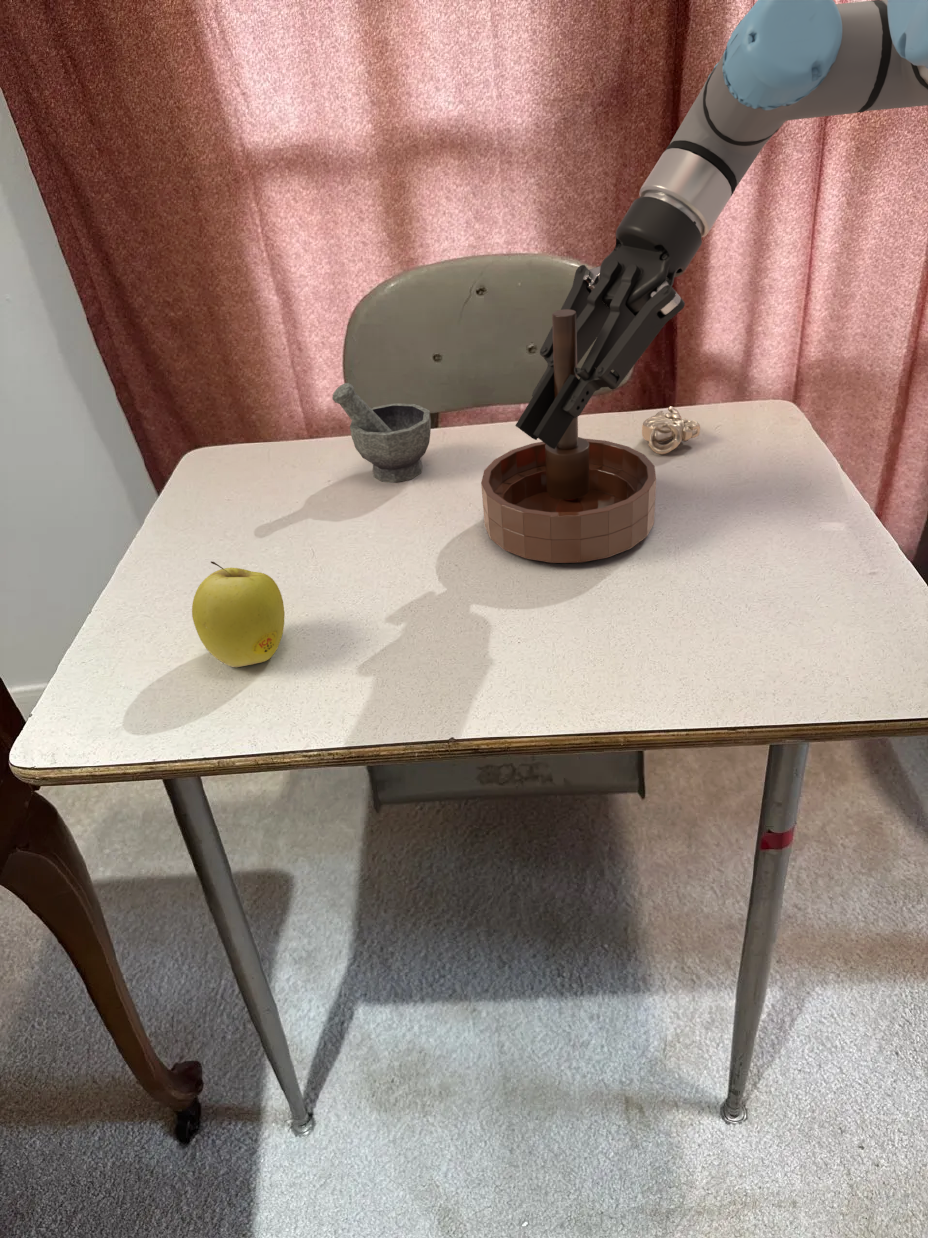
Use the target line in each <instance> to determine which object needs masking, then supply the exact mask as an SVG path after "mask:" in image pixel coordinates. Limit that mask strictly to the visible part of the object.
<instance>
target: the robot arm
mask: <svg viewBox="0 0 928 1238" xmlns="http://www.w3.org/2000/svg"><path fill="white" fill-rule="evenodd" d="M925 106H928V0H863V1H853V2H843V3H836V2H835V1H834V0H756V2H755V3H754V5H753V6H752V7H751V8H750V10H749V11H748V12H747V13H746V14H745V15H744V16H743V18H742V19H741V20H740V21H739V22H738V24H737V25H736V27H735V28H734V30H733V31H732V32H731V34H730V37H729V39H728V40H727V43H726V47H725V49H724V51H723V53H722V55H721V57H720V58H719V60H718V62H717V63H716V64H715V65H714V67H713V69H712V71H711V72H710V73H709V75H708V77H707V79H706V81H705V82H704V84H703V86H702V88H701V90H700V91H699V93H698V95H697V97H696V98H695V100H694V101H693V104H691V106H690V108H689V110H688V112H687V114H686V115H685V116H684V119H683V120H682V122H681V124H680V125H679V127H678V129H677V130H676V133H675V134H674V136H673V138H672V139H671V141H670V143H669V144H668V145H667V147H666V148H665V150H664V151H663V152H662V154H661V155H660V157H659V158H658V160H657V162H656V164H655V165H654V167H653V168H652V170H651V171H650V173H649V174H648V176H647V178H646V179H645V181H644V183H643V184H642V185H641V187H640V189H639V191H638V194H639V197H637V198H636V199H634V200H633V201H632V203H631V204H630V206H629V207H628V210H627V212H626V213H625V215H624V216H623V218H622V219H621V221H620V223H619V224H618V227H617V228H616V230H615V246H614V248H613V250H612V251H611V252H610V253H609V254H608V255H607V256H605V258H604V259H603V260H602V262H601V264H600V265H599V266H596V267H593V268H590V269H589V268H588V267H587V266H586V265H585V264H581V265H579V266H578V267H577V268H576V270H575V273H574V277H573V282H572V286H571V288H570V290H569V292H568V294H567V296H566V298H565V300H564V302H563V304H562V306H561V308H560V310H564V309H569V310H574V311H576V315H577V365H579V363H580V362H581V361H582V360H583V358H584V356H585V355H586V353H587V352H588V351H589V352H588V354H587V356H586V358H585V360H584V361H583V364H582V366H581V367H577V368H576V367H575V368H574V372H575V374H577V377H576V376H574V375H571V374H570V375H569V377H568V379H567V380H566V382H565V383H564V385H563V387H562V388H561V390H560V391H559V393H558V395H557V396H556V398H555V392H554V358H553V325H552V326H551V328H550V329H549V332H548V333H547V335H546V338H545V339H544V341H543V344H542V346H541V348H540V350H539V355H540V356H541V357H543V359H544V360H545V362H546V363H547V367H546V370H545V371H544V372H543V375H542V376H541V377H540V379H539V381H538V383H537V384H536V386H535V388H533V391H532V394H531V399H530V401H529V402H528V403H527V406H526V407H525V408H524V411H523V412H522V414H521V415H520V417H519V419H518V420H517V422H516V423H515V427H516V428H518V429H519V430H520V431H522V432H523V433H524V434H526V436H528V437H530V438H531V439H533V440H535V441H538V439H539V440H540V442H544V443H545V444H546V445H548V446H549V447H551V448H553V449H555V448H556V446H557V444H558V443H559V441H560V440H561V438H562V436H563V435H564V433H565V432H566V430H567V428H568V427H569V425H570V424H571V422H572V420H573V419H574V418H577V417H578V418H579V417H580V416H581V414H582V413H583V411H584V409H585V408H586V406H587V404H588V403H589V402H590V400H591V398H592V397H593V395H594V393H595V392H597V391H599V390H601V389H602V388H609V389H610V390H615V389H617V388H618V387H619V386H620V384H621V383H622V382H623V381H624V379H625V378H626V377H627V376H628V374H629V373H630V372H631V370H632V369H633V367H634V366H635V365H636V363H637V362H638V361H639V360H640V358H641V357H642V355H644V353H645V352H646V351H647V349H648V347H650V345H651V344H652V343H653V341H654V340H655V338H656V337H657V336H658V335H659V333H660V332H661V331H662V329H663V328H664V326H665V325H667V323H668V322H669V321H671V320H672V319H673V318H674V317H675V316H677V315H678V314H679V313H680V312H681V311H682V310H683V309H684V308H685V305H686V303H685V301H684V299H683V298H682V297H681V296H680V294H678V292H677V291H676V290H675V289H674V287H673V285H674V282H675V278H677V277H681V276H682V275H684V273H685V272H686V270H687V269H688V267H689V265H690V264H691V262H692V260H693V259H694V257H695V255H696V254H697V252H698V251H699V250H700V248H701V246H702V243H703V238H704V237H706V236H707V235H708V234H709V232H710V231H711V230H712V228H713V226H714V224H715V223H716V221H717V220H718V218H719V217H720V215H721V214H722V212H723V210H724V209H725V207H726V206H727V204H728V202H729V201H730V199H731V197H732V196H733V194H734V193H735V191H736V189H737V188H738V186H739V184H740V183H741V181H742V180H743V178H744V176H745V175H746V174H747V172H748V171H749V169H750V168H751V166H752V165H753V163H754V162H755V160H756V159H757V157H758V156H759V154H760V152H761V151H762V150H763V148H764V147H765V145H766V144H767V143H768V142H769V140H770V139H771V138H772V137H773V136H774V135H775V134H776V133H777V132H778V131H779V130H780V129H781V127H783V125H784V124H785V122H787V121H795V120H803V119H814V118H821V117H831V116H841V115H851V114H857V113H859V114H861V113H864V112H870V111H871V112H872V111H881V110H891V109H904V108H916V107H925ZM589 349H590V350H589Z"/></svg>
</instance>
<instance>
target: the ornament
mask: <svg viewBox="0 0 928 1238" xmlns="http://www.w3.org/2000/svg"><path fill="white" fill-rule="evenodd" d="M667 411H668V412H666V413H664V411H663V410H661V411H657V413H656V414H654V415H652V416H650V417H649V418H646V419H645V420H643V422H642V425H641V435H642V438H643V439H644V440H645V441H647V442H648V447H649V448H650V449H651V450H652V451H653V452H654V453H656V454H659V455H667V454H669V453H670V452H672V451H673V450H676V449H677V448H678V447H679V445H680V444H681V443H682V442H687V441H689V440H690V439H695V438H697V437H698V436H700V432H701V425H700V423H699V422H698V421H696V420H694V419H692V420H689V419H688V418H683V419H682V416H681V413H680V412H679V411H678V410H677V409H676V408H675V407H673V406H668V408H667ZM671 439H672V440H671ZM669 440H671V441H670V442H668V443H666V444H661V443H663V442H666V441H669Z"/></svg>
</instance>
